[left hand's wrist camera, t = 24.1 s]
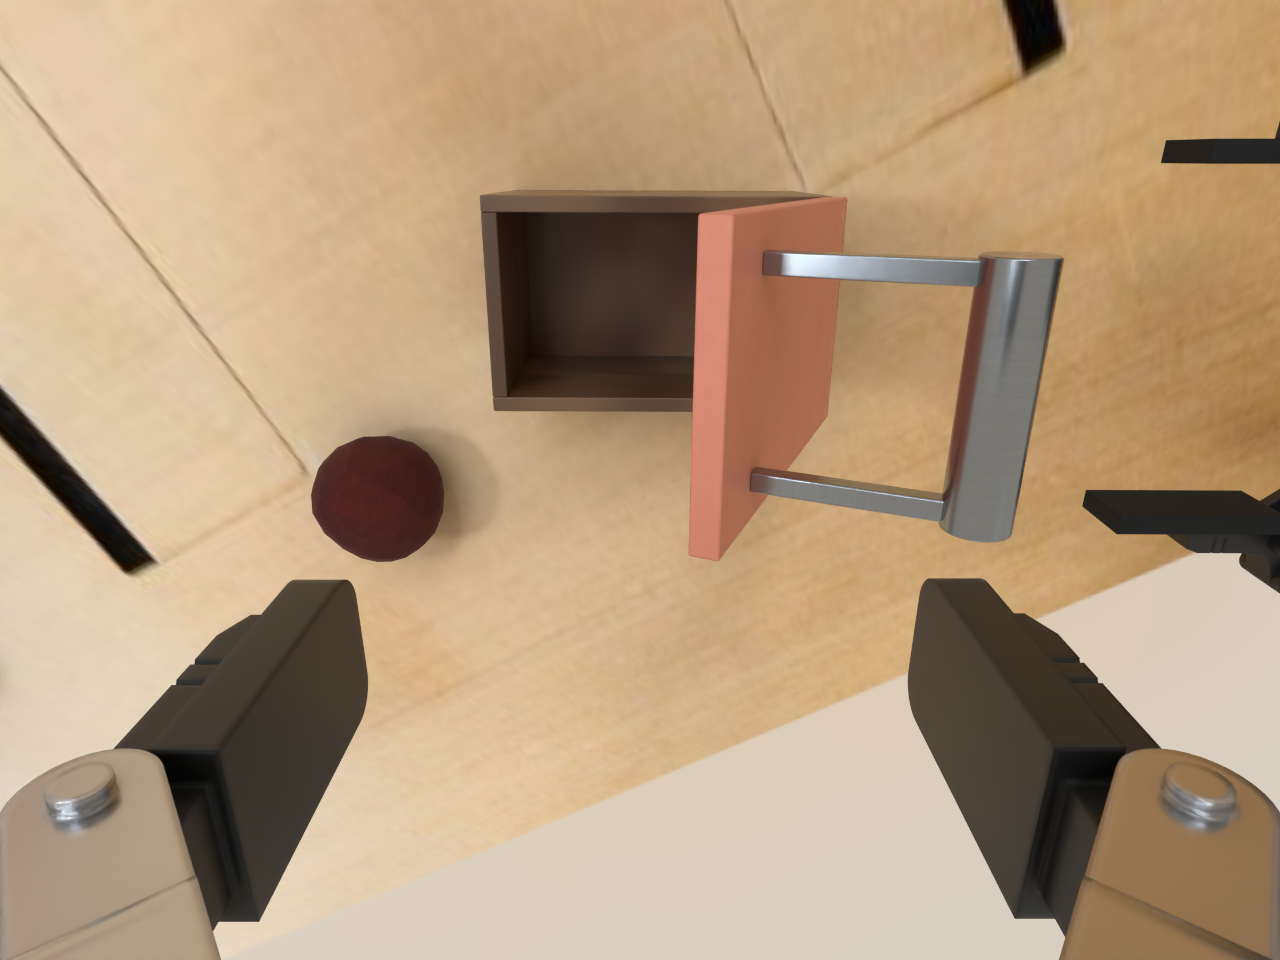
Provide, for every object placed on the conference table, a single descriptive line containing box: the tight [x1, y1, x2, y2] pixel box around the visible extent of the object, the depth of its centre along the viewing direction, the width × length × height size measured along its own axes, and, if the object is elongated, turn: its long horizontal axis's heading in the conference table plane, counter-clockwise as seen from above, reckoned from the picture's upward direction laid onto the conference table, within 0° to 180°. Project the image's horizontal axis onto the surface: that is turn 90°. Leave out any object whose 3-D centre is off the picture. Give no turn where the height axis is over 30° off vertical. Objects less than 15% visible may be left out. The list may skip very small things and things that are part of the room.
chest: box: [480, 190, 831, 412], centre depth 42 cm, size 16×10×10 cm, turn 90°
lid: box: [689, 197, 1064, 561], centre depth 28 cm, size 17×10×9 cm
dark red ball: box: [311, 436, 444, 562], centre depth 48 cm, size 7×8×7 cm
